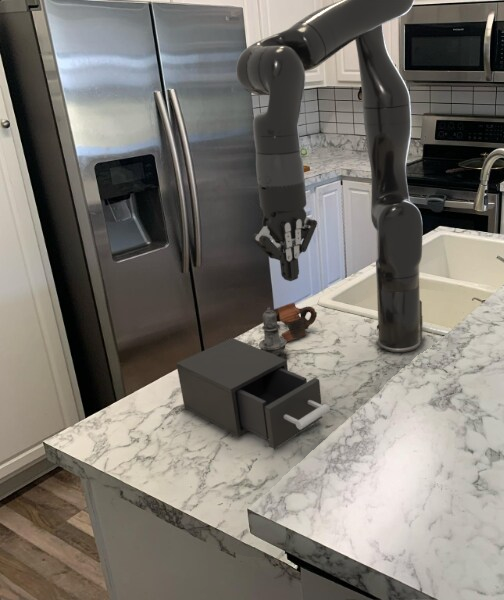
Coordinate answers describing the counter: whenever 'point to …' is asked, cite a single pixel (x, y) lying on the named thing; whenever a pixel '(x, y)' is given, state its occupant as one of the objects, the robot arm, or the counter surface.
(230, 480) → the counter surface
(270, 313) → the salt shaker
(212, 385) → the small drawer cabinet
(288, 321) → the pottery mug
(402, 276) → the robot arm
